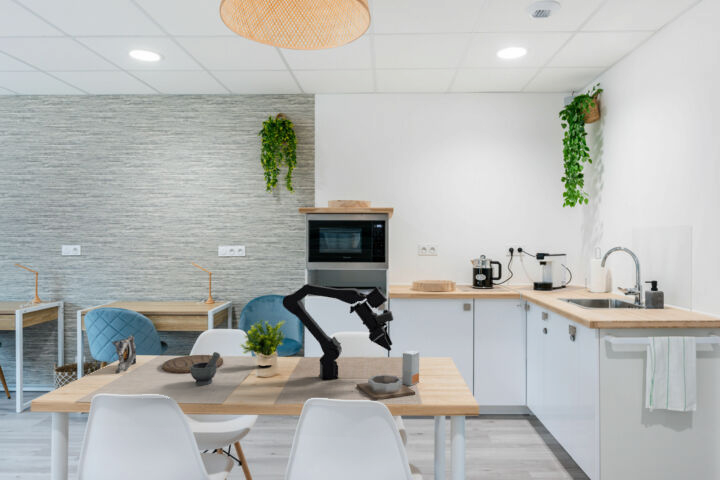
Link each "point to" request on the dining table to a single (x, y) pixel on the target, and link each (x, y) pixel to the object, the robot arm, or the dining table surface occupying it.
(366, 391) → the walnut board
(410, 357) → the skincare box
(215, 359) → the mortar and pestle
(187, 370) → the trivet
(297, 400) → the dining table surface
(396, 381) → the steel ring
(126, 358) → the grey piece
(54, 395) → the dining table surface
